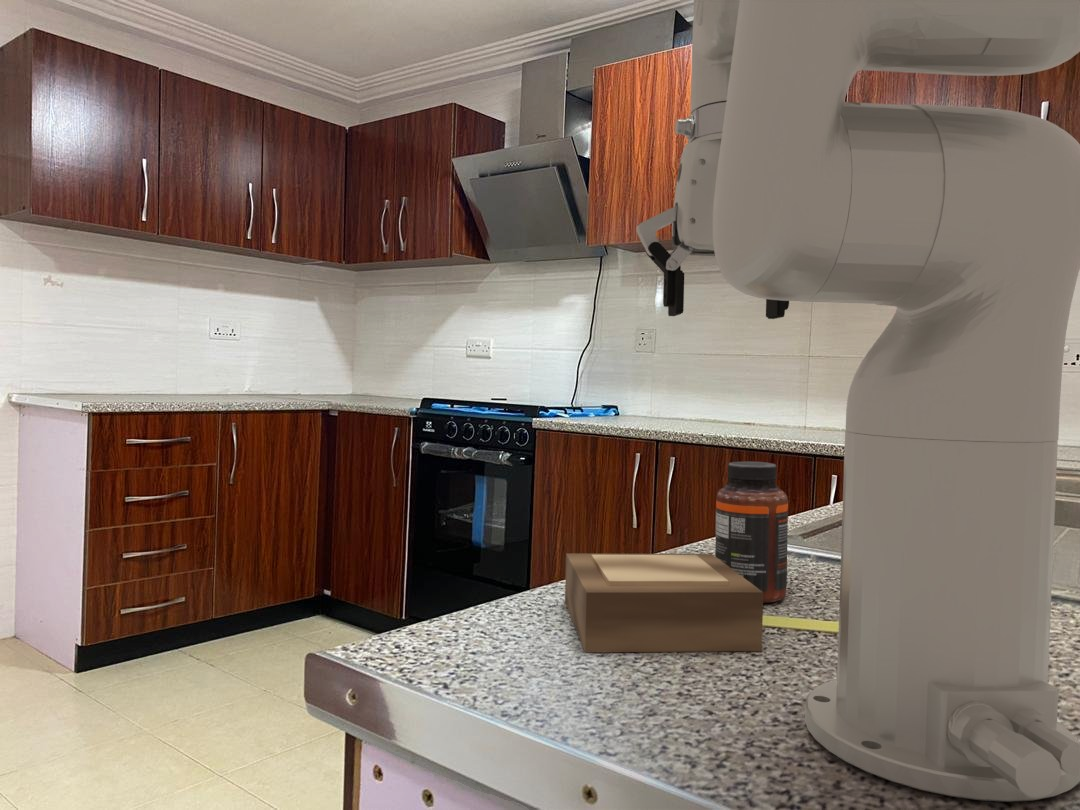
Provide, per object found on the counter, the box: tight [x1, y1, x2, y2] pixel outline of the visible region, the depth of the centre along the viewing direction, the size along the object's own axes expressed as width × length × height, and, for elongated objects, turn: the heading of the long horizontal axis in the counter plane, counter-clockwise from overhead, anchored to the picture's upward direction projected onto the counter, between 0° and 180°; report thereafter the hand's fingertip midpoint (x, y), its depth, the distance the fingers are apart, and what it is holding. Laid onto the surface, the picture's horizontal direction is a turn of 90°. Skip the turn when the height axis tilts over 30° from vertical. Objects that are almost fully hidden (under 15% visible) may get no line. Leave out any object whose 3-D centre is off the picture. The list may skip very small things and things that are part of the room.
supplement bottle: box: [714, 461, 789, 604], centre depth 69 cm, size 6×6×11 cm
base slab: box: [564, 552, 764, 653], centre depth 61 cm, size 12×12×4 cm
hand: (725, 316), depth 78 cm, fingers open, 9 cm apart
